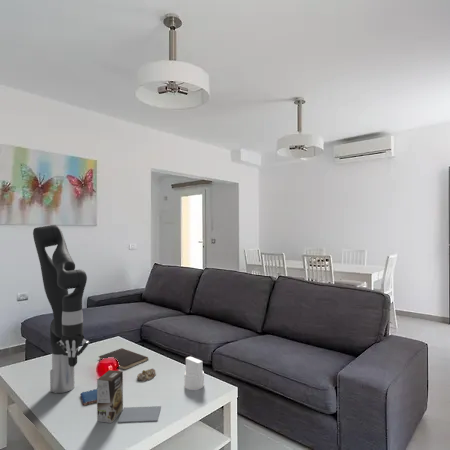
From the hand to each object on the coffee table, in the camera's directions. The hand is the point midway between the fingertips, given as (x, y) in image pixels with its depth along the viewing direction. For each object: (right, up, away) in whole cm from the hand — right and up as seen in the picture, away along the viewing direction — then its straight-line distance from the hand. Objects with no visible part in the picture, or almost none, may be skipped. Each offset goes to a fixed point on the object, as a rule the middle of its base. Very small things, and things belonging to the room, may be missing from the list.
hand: (73, 365), depth 132 cm
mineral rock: (+21, -21, +35) cm, 46 cm away
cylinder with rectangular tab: (+45, -20, +26) cm, 56 cm away
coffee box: (+14, -21, +1) cm, 25 cm away
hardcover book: (+3, -21, +57) cm, 60 cm away
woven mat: (+2, -21, +16) cm, 26 cm away
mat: (+26, -20, +2) cm, 33 cm away
